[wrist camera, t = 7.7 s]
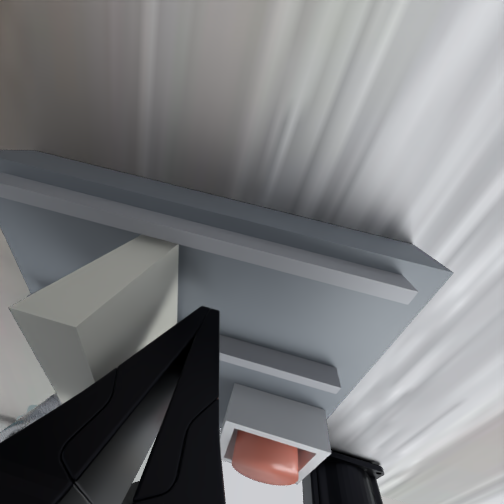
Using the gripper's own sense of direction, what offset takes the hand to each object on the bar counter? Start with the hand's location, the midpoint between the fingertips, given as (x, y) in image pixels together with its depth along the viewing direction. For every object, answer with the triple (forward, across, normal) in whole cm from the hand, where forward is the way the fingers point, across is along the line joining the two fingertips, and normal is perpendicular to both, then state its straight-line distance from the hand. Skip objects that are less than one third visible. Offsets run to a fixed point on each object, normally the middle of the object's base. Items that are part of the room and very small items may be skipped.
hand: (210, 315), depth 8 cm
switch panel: (+4, +2, +5) cm, 7 cm away
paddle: (+1, +3, 0) cm, 3 cm away
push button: (+1, -5, +10) cm, 11 cm away
